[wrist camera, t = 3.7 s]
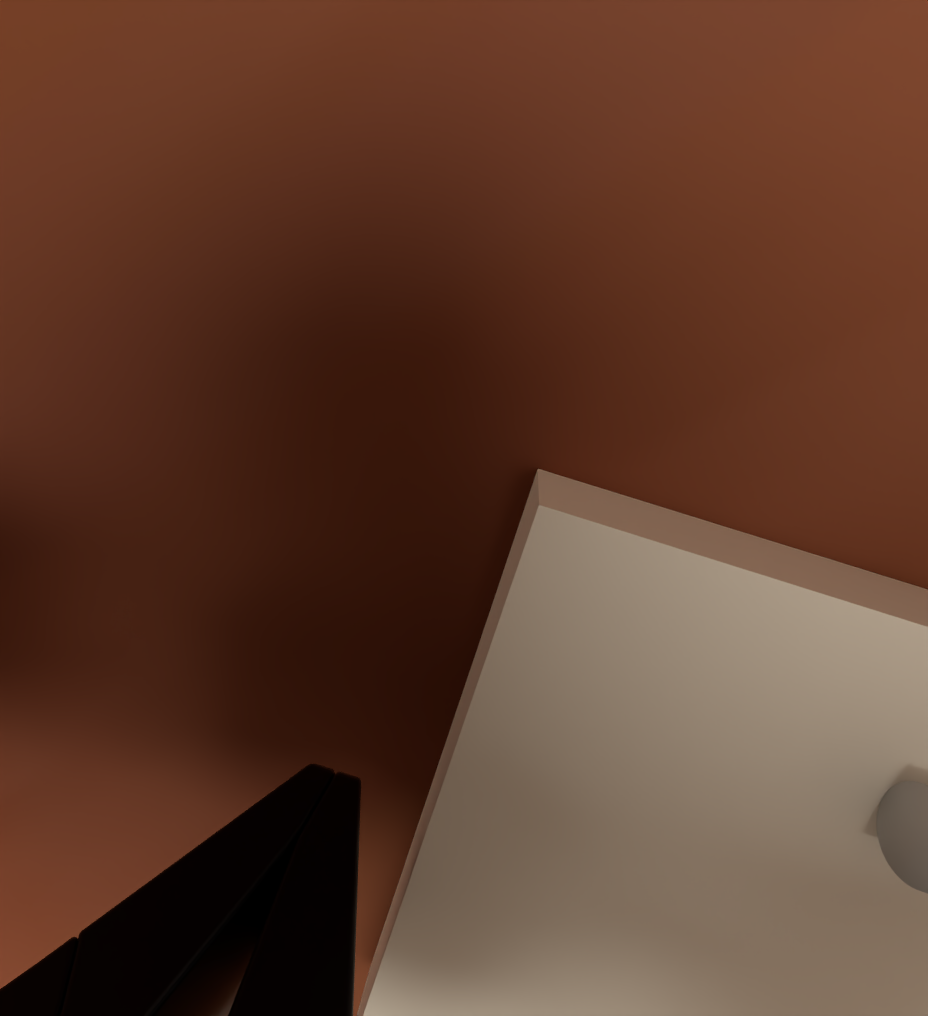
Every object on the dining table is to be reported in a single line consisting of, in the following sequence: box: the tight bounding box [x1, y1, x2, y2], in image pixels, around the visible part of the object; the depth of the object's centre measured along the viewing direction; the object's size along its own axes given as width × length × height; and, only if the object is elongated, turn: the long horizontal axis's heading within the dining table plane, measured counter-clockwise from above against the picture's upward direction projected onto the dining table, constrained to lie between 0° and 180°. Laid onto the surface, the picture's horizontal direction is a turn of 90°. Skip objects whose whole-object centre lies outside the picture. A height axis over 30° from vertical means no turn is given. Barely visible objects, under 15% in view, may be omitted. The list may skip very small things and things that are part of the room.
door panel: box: [357, 469, 928, 1016], centre depth 7 cm, size 7×11×4 cm, turn 164°
